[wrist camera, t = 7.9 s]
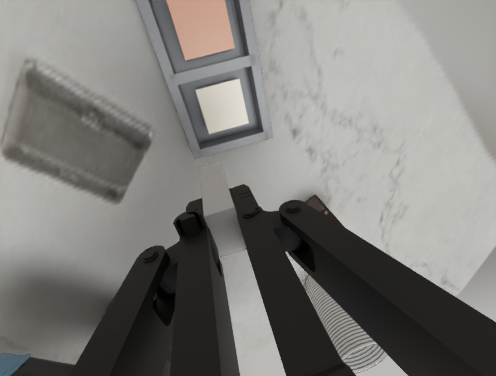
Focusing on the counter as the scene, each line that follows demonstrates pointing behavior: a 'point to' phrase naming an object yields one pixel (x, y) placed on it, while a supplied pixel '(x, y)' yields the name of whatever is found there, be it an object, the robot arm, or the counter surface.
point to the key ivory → (222, 105)
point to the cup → (344, 331)
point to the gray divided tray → (211, 77)
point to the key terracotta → (201, 27)
